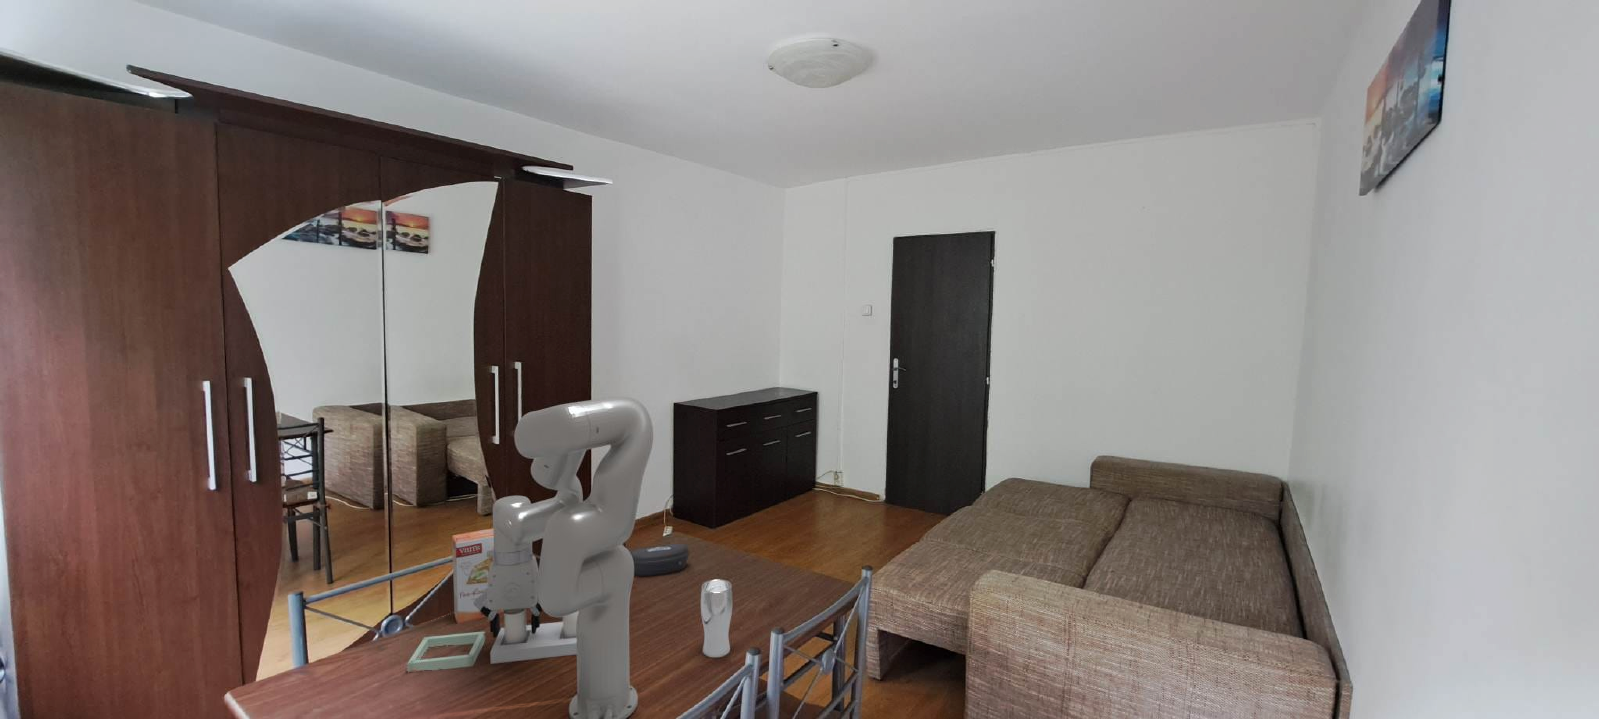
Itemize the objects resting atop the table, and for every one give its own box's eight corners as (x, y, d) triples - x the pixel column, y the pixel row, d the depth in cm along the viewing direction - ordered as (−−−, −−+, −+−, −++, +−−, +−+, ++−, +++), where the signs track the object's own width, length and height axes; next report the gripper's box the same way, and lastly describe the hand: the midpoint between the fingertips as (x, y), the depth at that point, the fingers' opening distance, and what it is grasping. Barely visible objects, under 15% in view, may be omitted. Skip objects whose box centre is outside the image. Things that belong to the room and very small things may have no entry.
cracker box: (457, 628, 146) (454, 542, 144) (454, 617, 151) (451, 534, 149) (521, 611, 155) (519, 530, 153) (516, 602, 160) (514, 522, 158)
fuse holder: (590, 656, 136) (590, 641, 136) (490, 668, 131) (490, 652, 131) (594, 632, 146) (594, 618, 145) (501, 642, 141) (501, 627, 141)
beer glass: (702, 661, 135) (702, 594, 134) (699, 643, 142) (699, 580, 140) (734, 656, 137) (734, 591, 135) (729, 639, 144) (729, 577, 142)
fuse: (583, 646, 138) (582, 598, 137) (561, 648, 137) (560, 601, 136) (585, 635, 142) (584, 589, 141) (564, 637, 141) (563, 591, 140)
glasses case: (629, 580, 171) (627, 551, 173) (625, 579, 180) (623, 551, 182) (694, 570, 178) (691, 541, 180) (687, 569, 187) (684, 542, 189)
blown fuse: (525, 652, 135) (524, 604, 134) (502, 655, 134) (501, 606, 133) (529, 641, 140) (527, 594, 139) (507, 643, 139) (505, 596, 137)
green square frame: (473, 670, 130) (472, 656, 130) (407, 677, 127) (407, 663, 127) (485, 643, 140) (485, 631, 140) (425, 650, 137) (424, 637, 137)
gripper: (464, 564, 129) (467, 646, 131) (553, 558, 133) (555, 637, 135) (474, 550, 136) (476, 628, 138) (558, 544, 140) (560, 619, 142)
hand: (515, 631), depth 136 cm, fingers open, 7 cm apart
